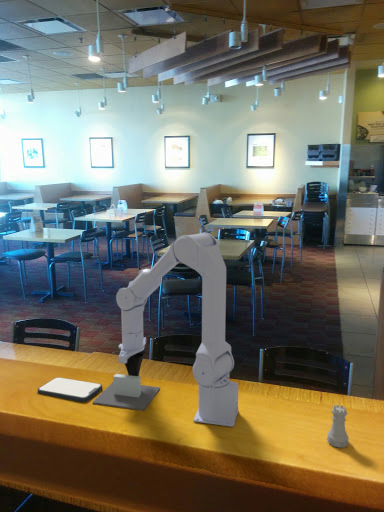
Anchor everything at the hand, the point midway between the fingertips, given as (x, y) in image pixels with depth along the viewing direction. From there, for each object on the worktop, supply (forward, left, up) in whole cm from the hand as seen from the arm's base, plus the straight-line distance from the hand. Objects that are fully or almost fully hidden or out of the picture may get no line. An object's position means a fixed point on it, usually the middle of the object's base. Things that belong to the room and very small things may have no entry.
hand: (133, 378), depth 113 cm
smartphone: (+16, +5, -4) cm, 18 cm away
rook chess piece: (-52, +12, -3) cm, 54 cm away
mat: (0, +4, -3) cm, 5 cm away
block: (0, +4, -3) cm, 5 cm away
